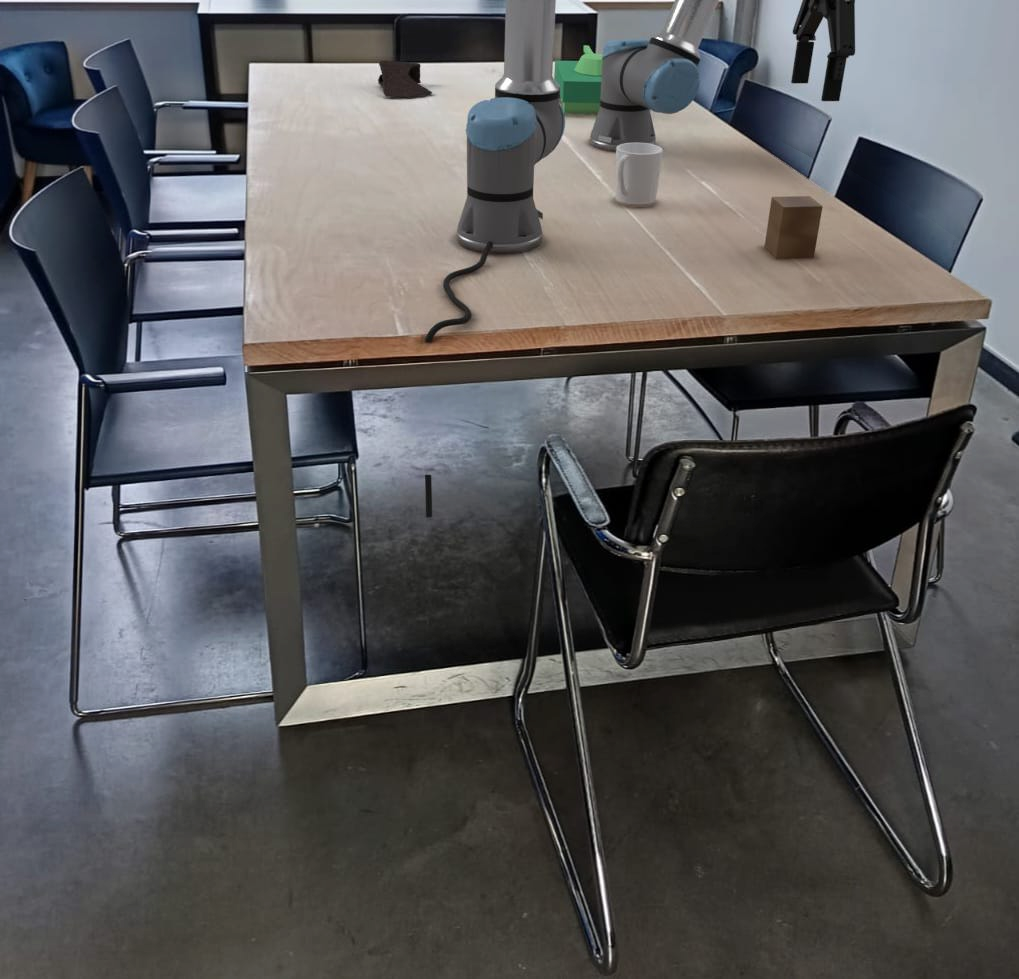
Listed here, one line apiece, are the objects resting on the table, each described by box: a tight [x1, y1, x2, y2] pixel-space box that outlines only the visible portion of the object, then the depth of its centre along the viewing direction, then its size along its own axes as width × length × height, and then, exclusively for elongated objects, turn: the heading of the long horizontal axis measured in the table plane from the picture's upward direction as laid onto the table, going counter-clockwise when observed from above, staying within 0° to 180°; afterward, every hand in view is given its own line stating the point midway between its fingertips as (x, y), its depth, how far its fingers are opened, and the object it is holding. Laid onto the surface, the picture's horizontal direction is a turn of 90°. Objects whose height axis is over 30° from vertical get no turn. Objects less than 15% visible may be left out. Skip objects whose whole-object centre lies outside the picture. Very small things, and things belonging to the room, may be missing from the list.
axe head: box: [377, 59, 433, 99], centre depth 299 cm, size 18×8×15 cm
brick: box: [763, 195, 824, 260], centre depth 191 cm, size 7×6×9 cm
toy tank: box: [553, 44, 603, 115], centre depth 290 cm, size 18×12×35 cm
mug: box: [614, 143, 664, 208], centre depth 214 cm, size 11×9×10 cm
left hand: (814, 91), depth 179 cm, fingers open, 13 cm apart
